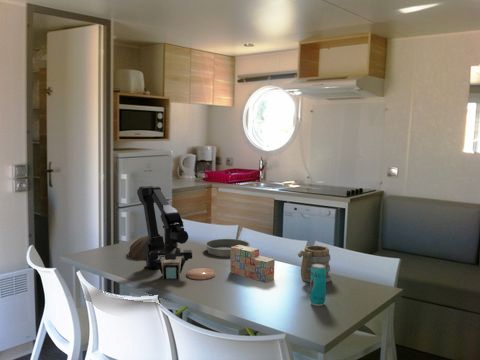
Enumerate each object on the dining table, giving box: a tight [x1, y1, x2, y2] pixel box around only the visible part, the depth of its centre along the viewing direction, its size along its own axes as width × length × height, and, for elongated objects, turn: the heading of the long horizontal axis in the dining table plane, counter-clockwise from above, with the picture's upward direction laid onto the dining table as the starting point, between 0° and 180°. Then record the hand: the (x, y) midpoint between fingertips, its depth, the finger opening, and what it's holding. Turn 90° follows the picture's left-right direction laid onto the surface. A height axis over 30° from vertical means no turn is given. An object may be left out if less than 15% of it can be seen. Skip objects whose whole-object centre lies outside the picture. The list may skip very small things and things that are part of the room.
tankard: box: [297, 245, 332, 283], centre depth 206 cm, size 20×13×15 cm, turn 135°
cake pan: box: [204, 238, 251, 258], centre depth 255 cm, size 25×25×4 cm
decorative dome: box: [127, 235, 148, 260], centre depth 247 cm, size 19×20×10 cm
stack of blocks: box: [229, 245, 276, 283], centre depth 212 cm, size 21×6×12 cm, turn 48°
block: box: [165, 265, 177, 280], centre depth 210 cm, size 4×4×5 cm
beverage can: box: [309, 264, 327, 307], centre depth 178 cm, size 6×6×15 cm
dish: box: [186, 267, 217, 281], centre depth 213 cm, size 13×13×1 cm
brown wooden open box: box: [162, 258, 181, 280], centre depth 210 cm, size 7×7×7 cm
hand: (171, 273), depth 210 cm, fingers open, 8 cm apart
